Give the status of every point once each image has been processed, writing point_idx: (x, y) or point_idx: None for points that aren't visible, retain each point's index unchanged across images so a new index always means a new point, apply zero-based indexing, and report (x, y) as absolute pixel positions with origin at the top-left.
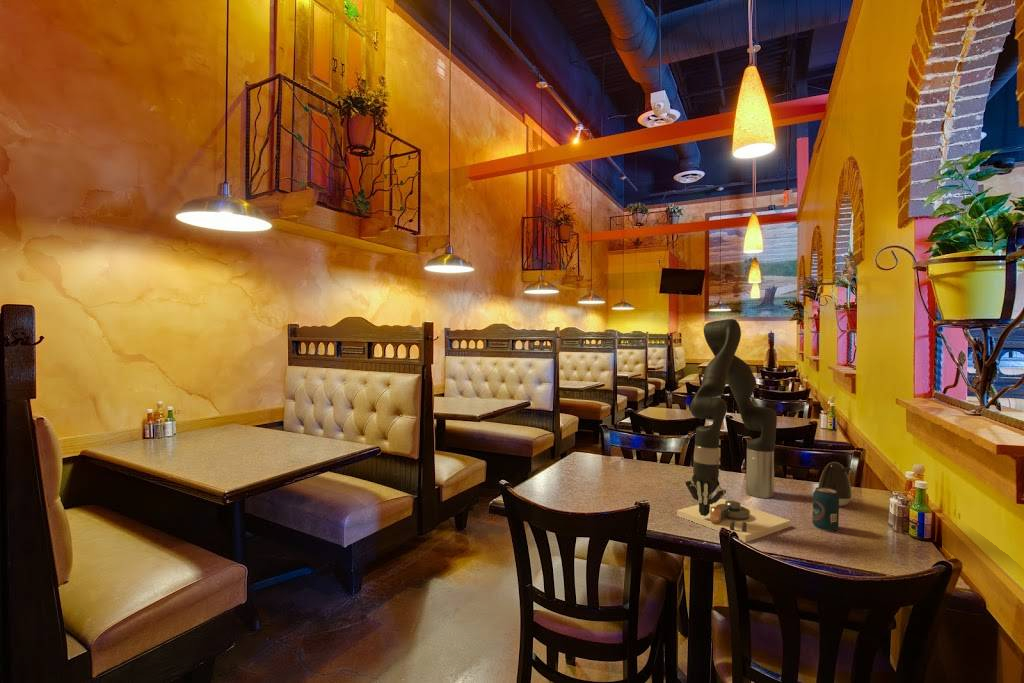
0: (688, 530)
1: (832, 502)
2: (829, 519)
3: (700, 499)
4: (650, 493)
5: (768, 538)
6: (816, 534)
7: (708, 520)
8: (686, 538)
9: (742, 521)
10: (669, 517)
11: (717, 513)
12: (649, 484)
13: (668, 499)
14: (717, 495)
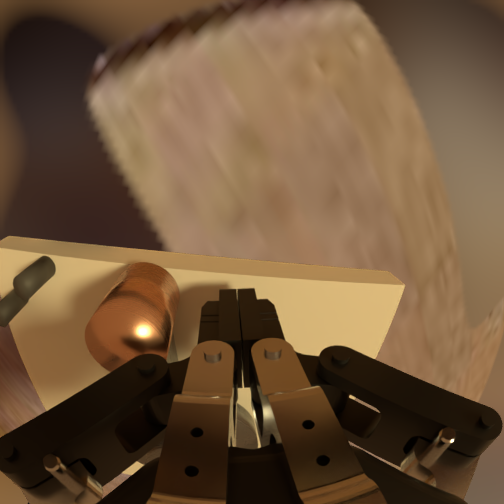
0: (245, 122)
1: (28, 502)
2: None
3: (273, 364)
4: (482, 361)
5: None
6: None
7: (200, 291)
8: (188, 16)
9: None
10: (406, 224)
11: (98, 306)
12: (479, 396)
13: (442, 376)
14: (49, 433)
